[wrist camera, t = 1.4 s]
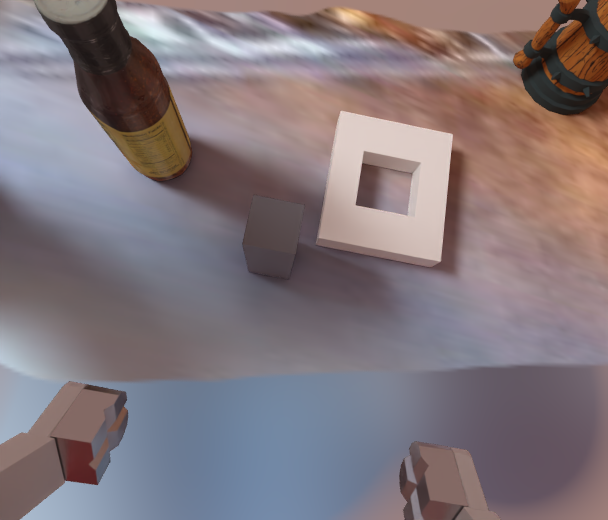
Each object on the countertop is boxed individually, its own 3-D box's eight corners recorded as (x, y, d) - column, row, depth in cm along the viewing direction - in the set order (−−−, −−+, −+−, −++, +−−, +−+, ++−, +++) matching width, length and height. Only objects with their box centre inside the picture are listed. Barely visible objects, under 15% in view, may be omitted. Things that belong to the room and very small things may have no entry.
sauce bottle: (136, 127, 41) (22, -71, 22) (197, 132, 42) (137, -58, 23) (127, 185, 40) (-4, 26, 21) (190, 190, 40) (120, 38, 21)
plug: (248, 271, 39) (242, 244, 29) (257, 233, 40) (253, 194, 30) (288, 279, 39) (295, 254, 29) (296, 241, 40) (305, 204, 30)
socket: (315, 244, 40) (318, 237, 38) (336, 124, 44) (340, 110, 41) (430, 267, 41) (440, 261, 38) (442, 146, 44) (452, 134, 42)
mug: (594, 48, 49) (689, -43, 38) (604, 121, 47) (710, 47, 36) (493, 36, 48) (561, -60, 37) (498, 110, 46) (573, 31, 35)
